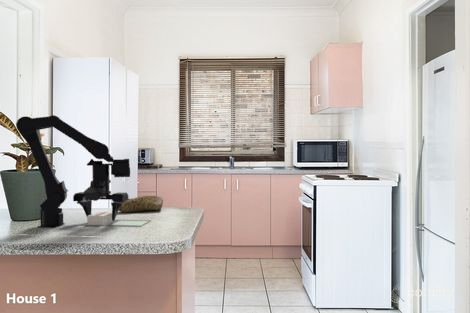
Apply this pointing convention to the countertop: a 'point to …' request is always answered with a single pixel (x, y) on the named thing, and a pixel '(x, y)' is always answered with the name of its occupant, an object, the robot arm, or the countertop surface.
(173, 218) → the countertop surface
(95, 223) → the card box
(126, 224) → the mat
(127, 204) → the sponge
